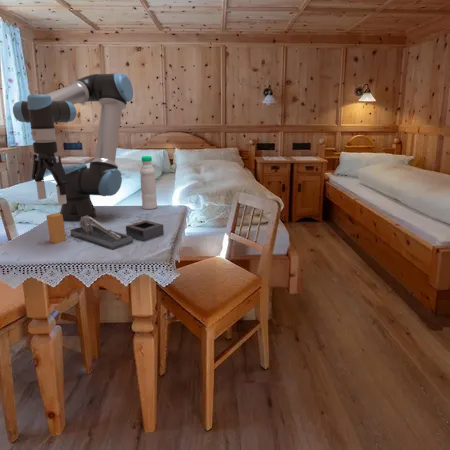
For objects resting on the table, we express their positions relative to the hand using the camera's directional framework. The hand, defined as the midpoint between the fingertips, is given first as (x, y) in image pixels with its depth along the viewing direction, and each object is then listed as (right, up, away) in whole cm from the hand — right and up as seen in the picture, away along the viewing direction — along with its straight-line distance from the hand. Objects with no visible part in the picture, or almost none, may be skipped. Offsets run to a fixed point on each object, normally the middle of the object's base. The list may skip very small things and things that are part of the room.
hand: (52, 201), depth 146 cm
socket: (+31, -13, +10) cm, 35 cm away
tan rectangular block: (0, -14, +5) cm, 15 cm away
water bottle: (+26, 0, +51) cm, 57 cm away
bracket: (+16, -13, +6) cm, 21 cm away
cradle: (+16, -14, +6) cm, 22 cm away
